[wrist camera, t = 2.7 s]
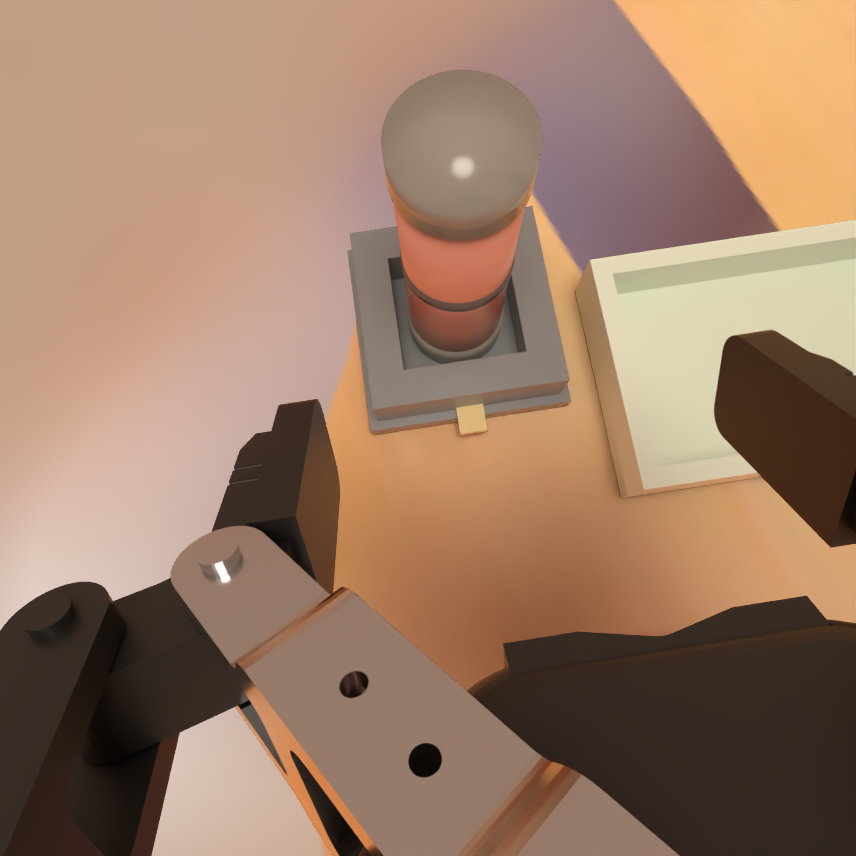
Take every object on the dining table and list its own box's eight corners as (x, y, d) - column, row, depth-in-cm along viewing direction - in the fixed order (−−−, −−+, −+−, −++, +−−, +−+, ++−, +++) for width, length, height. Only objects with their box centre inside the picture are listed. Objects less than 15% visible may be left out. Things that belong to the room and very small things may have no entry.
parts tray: (863, 248, 28) (912, 211, 25) (935, 450, 26) (998, 436, 23) (575, 291, 28) (589, 259, 25) (621, 498, 26) (643, 489, 23)
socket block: (527, 217, 29) (535, 181, 26) (570, 422, 26) (584, 406, 24) (348, 244, 29) (337, 211, 26) (374, 452, 26) (366, 439, 24)
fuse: (492, 275, 27) (526, 59, 16) (507, 358, 26) (557, 195, 15) (403, 288, 27) (371, 82, 16) (416, 372, 26) (392, 220, 15)
